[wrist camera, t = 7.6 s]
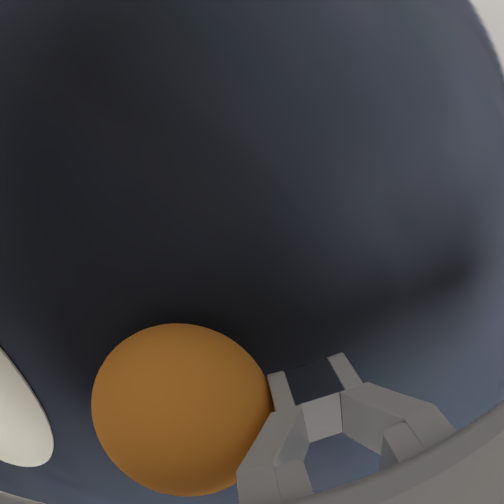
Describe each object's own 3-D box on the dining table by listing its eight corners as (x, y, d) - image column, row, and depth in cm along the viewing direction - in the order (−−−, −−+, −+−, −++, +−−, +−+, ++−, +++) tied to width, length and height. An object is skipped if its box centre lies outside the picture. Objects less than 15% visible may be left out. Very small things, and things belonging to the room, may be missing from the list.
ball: (258, 426, 11) (174, 519, 7) (164, 338, 13) (65, 413, 8) (341, 383, 8) (229, 546, 4) (201, 256, 9) (37, 360, 5)
